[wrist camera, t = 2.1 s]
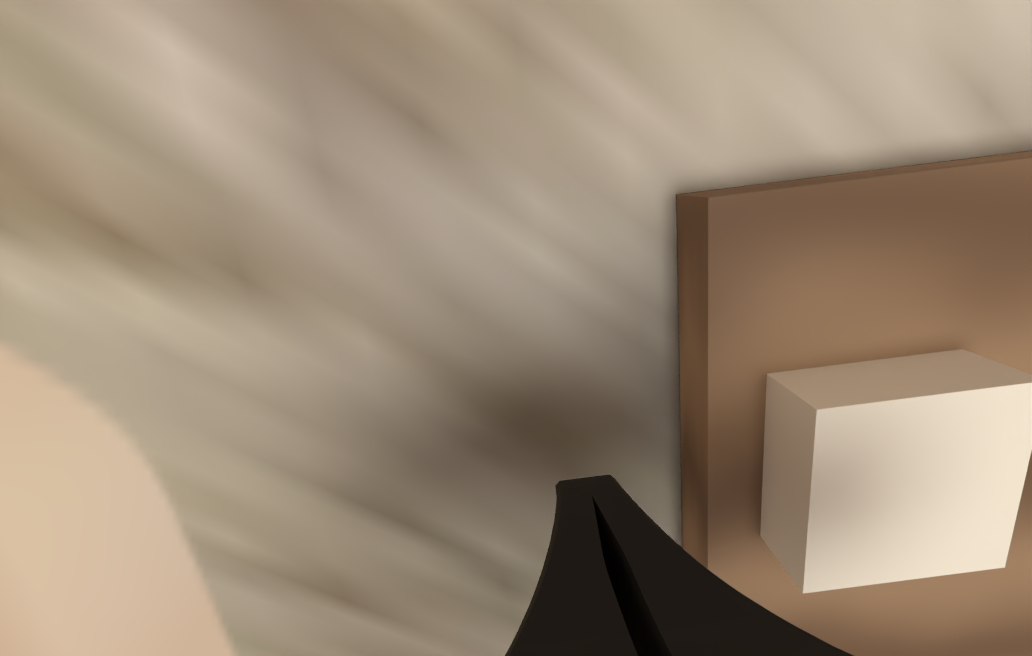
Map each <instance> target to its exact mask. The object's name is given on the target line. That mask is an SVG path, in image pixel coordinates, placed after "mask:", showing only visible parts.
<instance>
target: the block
mask: <svg viewBox="0 0 1032 656" xmlns="http://www.w3.org/2000/svg"><path fill="white" fill-rule="evenodd" d="M1031 451H1032V375H1031V374H1029V373H1026V372H1023V371H1020V370H1018V369H1015V368H1012V367H1010V366H1007V365H1004V364H1001V363H999V362H996V361H993V360H991V359H988V358H985V357H983V356H980V355H977V354H974V353H972V352H969V351H966V350H964V349H958V350H950V351H942V352H934V353H927V354H919V355H911V356H903V357H895V358H887V359H879V360H871V361H863V362H855V363H847V364H839V365H831V366H823V367H815V368H807V369H799V370H792V371H784V372H776V373H768V374H767V382H766V406H765V431H764V456H763V480H762V505H761V529H760V536H761V538H762V539H763V540H764V542H765V543H766V545H767V546H768V547H769V549H770V550H771V551H772V553H773V554H774V555H775V557H776V558H777V559H778V561H779V562H780V563H781V565H782V566H783V567H784V569H785V570H786V572H787V573H788V574H789V576H790V577H791V578H792V580H793V581H794V582H795V584H796V585H797V586H798V588H799V589H800V590H801V592H802V593H811V592H819V591H827V590H834V589H842V588H850V587H858V586H865V585H873V584H881V583H889V582H896V581H904V580H912V579H920V578H927V577H935V576H943V575H951V574H958V573H966V572H974V571H982V570H989V569H997V568H1005V565H1006V560H1007V556H1008V551H1009V547H1010V543H1011V538H1012V534H1013V530H1014V525H1015V521H1016V516H1017V512H1018V508H1019V503H1020V499H1021V495H1022V490H1023V486H1024V481H1025V477H1026V473H1027V468H1028V464H1029V460H1030V455H1031Z"/></svg>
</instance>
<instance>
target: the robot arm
mask: <svg viewBox="0 0 1032 656" xmlns="http://www.w3.org/2000/svg"><path fill="white" fill-rule="evenodd" d="M556 495H557V503H556V513H555V520H554V525H553V530H552V535H551V540H550V545H549V548H548V552H547V555H546V559H545V562H544V566H543V569H542V573H541V576H540V578H539V581H538V584H537V587H536V590H535V592H534V595H533V597H532V600H531V603H530V605H529V607H528V610H527V612H526V614H525V616H524V619H523V621H522V623H521V625H520V627H519V630H518V632H517V634H516V636H515V638H514V640H513V642H512V644H511V646H510V648H509V650H508V651H507V653H506V655H505V656H854V655H852V654H849V653H847V652H845V651H843V650H841V649H839V648H836V647H834V646H832V645H830V644H828V643H826V642H824V641H823V640H821V639H819V638H817V637H815V636H813V635H811V634H809V633H808V632H806V631H804V630H802V629H800V628H798V627H796V626H794V625H793V624H791V623H789V622H787V621H786V620H784V619H782V618H780V617H779V616H777V615H775V614H774V613H772V612H770V611H769V610H767V609H766V608H764V607H762V606H761V605H759V604H758V603H756V602H754V601H753V600H751V599H750V598H748V597H746V596H745V595H743V594H742V593H740V592H739V591H737V590H736V589H734V588H733V587H731V586H730V585H728V584H727V583H726V582H724V581H723V580H722V579H720V578H719V577H718V576H716V575H715V574H714V573H712V572H711V571H710V570H708V569H707V568H706V567H704V566H703V565H702V564H701V563H699V562H698V561H697V560H696V559H695V558H693V557H692V556H691V555H690V554H689V553H687V552H686V551H685V550H684V549H683V548H682V547H680V546H679V545H678V544H677V543H676V542H675V541H674V540H673V539H671V538H670V537H669V536H668V535H667V534H666V533H665V532H664V531H663V530H662V529H661V528H660V527H659V526H658V525H657V524H656V523H655V522H654V521H653V520H652V519H651V518H650V517H649V516H648V515H647V514H646V513H645V512H644V511H643V510H642V509H641V508H640V507H639V506H638V505H637V504H636V503H635V502H634V501H633V500H632V498H631V497H630V496H629V495H628V494H627V493H626V492H625V491H624V489H623V488H622V487H621V486H620V485H619V483H618V482H617V481H616V480H615V479H614V478H613V477H612V476H611V475H604V476H596V477H588V478H580V479H572V480H564V481H559V482H558V484H557V485H556Z"/></svg>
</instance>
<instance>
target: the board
mask: <svg viewBox="0 0 1032 656" xmlns="http://www.w3.org/2000/svg"><path fill="white" fill-rule="evenodd" d="M677 251H678V309H679V366H680V424H681V481H682V539H683V549H684V550H685V551H686V552H687V553H689V554H690V555H691V556H692V557H693V558H695V559H696V560H697V561H698V562H699V563H701V564H702V565H703V566H704V567H706V568H707V569H708V570H710V571H711V572H712V573H714V574H715V575H716V576H718V577H719V578H720V579H722V580H723V581H724V582H726V583H727V584H728V585H730V586H731V587H733V588H734V589H736V590H737V591H739V592H740V593H742V594H743V595H745V596H746V597H748V598H750V599H751V600H753V601H754V602H756V603H758V604H759V605H761V606H762V607H764V608H766V609H767V610H769V611H770V612H772V613H774V614H775V615H777V616H779V617H780V618H782V619H784V620H786V621H787V622H789V623H791V624H793V625H794V626H796V627H798V628H800V629H802V630H804V631H806V632H808V633H809V634H811V635H813V636H815V637H817V638H819V639H821V640H823V641H824V642H826V643H828V644H830V645H832V646H834V647H836V648H839V649H841V650H843V651H845V652H847V653H849V654H852V655H854V656H1032V451H1031V455H1030V460H1029V464H1028V468H1027V473H1026V477H1025V481H1024V486H1023V490H1022V495H1021V499H1020V503H1019V508H1018V512H1017V516H1016V521H1015V525H1014V530H1013V534H1012V538H1011V543H1010V547H1009V551H1008V556H1007V560H1006V565H1005V568H997V569H989V570H982V571H974V572H966V573H958V574H951V575H943V576H935V577H927V578H920V579H912V580H904V581H896V582H889V583H881V584H873V585H865V586H858V587H850V588H842V589H834V590H827V591H819V592H811V593H802V592H801V590H800V589H799V588H798V586H797V585H796V584H795V582H794V581H793V580H792V578H791V577H790V576H789V574H788V573H787V572H786V570H785V569H784V567H783V566H782V565H781V563H780V562H779V561H778V559H777V558H776V557H775V555H774V554H773V553H772V551H771V550H770V549H769V547H768V546H767V545H766V543H765V542H764V540H763V539H762V538H761V536H760V529H761V505H762V480H763V456H764V431H765V406H766V382H767V374H768V373H776V372H784V371H792V370H799V369H807V368H815V367H823V366H831V365H839V364H847V363H855V362H863V361H871V360H879V359H887V358H895V357H903V356H911V355H919V354H927V353H934V352H942V351H950V350H958V349H964V350H966V351H969V352H972V353H974V354H977V355H980V356H983V357H985V358H988V359H991V360H993V361H996V362H999V363H1001V364H1004V365H1007V366H1010V367H1012V368H1015V369H1018V370H1020V371H1023V372H1026V373H1029V374H1031V375H1032V151H1026V152H1018V153H1010V154H1002V155H994V156H985V157H977V158H969V159H961V160H953V161H945V162H937V163H929V164H920V165H912V166H904V167H896V168H888V169H880V170H872V171H864V172H856V173H847V174H839V175H831V176H823V177H815V178H807V179H799V180H791V181H783V182H774V183H766V184H758V185H750V186H742V187H734V188H726V189H718V190H709V191H701V192H693V193H685V194H677Z"/></svg>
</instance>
